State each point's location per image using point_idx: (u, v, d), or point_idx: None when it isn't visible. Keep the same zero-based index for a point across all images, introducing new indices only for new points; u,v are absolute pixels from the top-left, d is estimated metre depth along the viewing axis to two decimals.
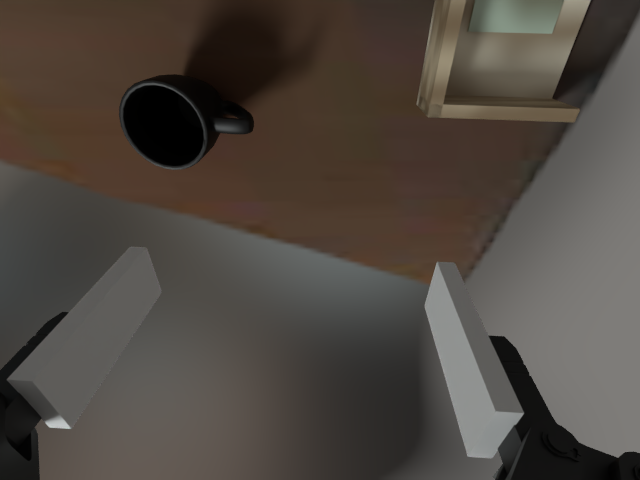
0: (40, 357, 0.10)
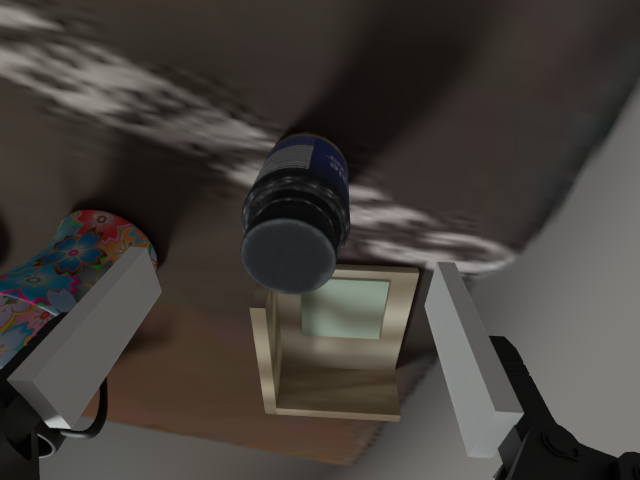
0: (40, 357, 0.10)
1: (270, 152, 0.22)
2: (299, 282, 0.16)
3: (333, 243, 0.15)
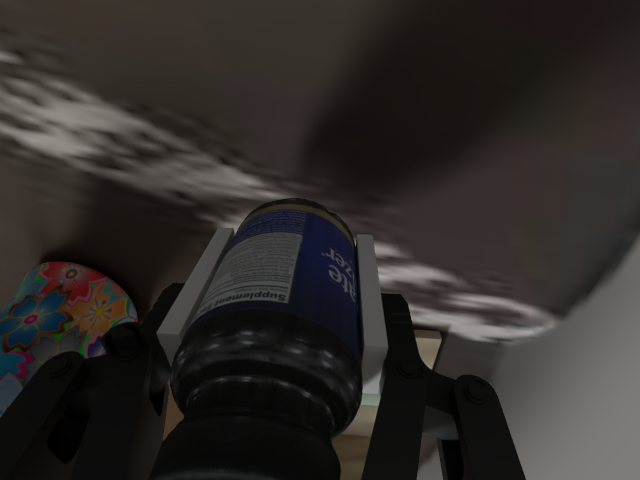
0: (177, 316, 0.11)
1: (238, 231, 0.15)
2: None
3: None
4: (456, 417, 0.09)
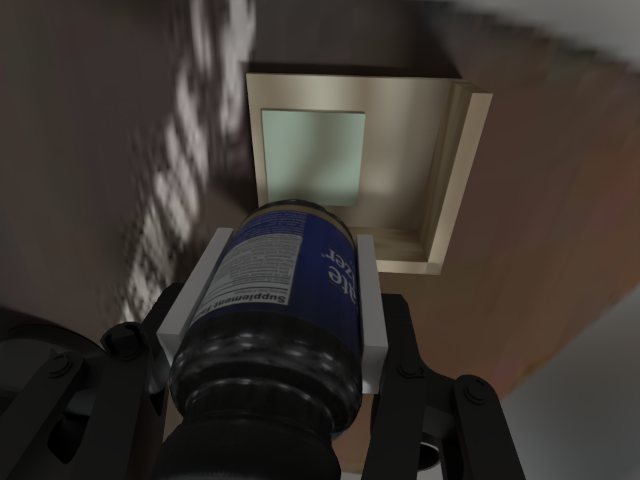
0: (177, 316, 0.11)
1: (237, 232, 0.15)
2: None
3: None
4: (456, 417, 0.09)
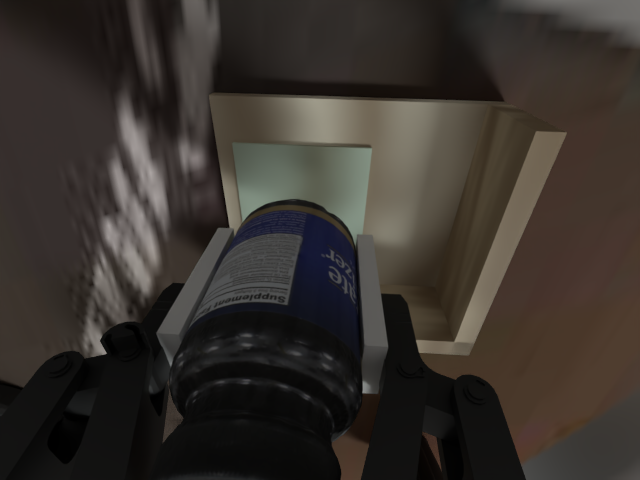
0: (177, 316, 0.11)
1: (237, 232, 0.15)
2: None
3: None
4: (456, 417, 0.09)
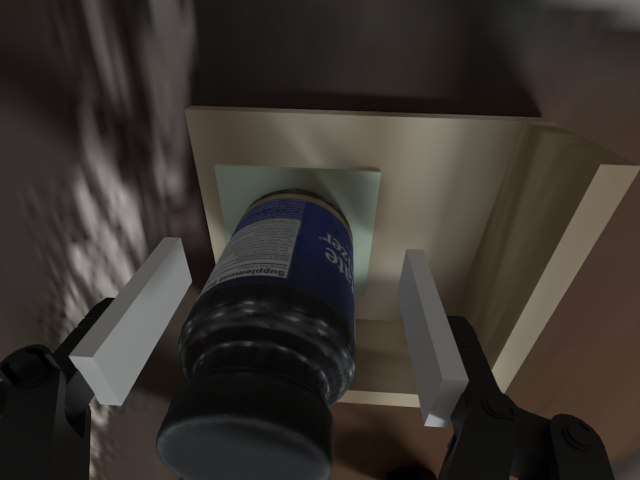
0: (96, 336, 0.10)
1: (241, 219, 0.15)
2: None
3: (325, 444, 0.08)
4: None
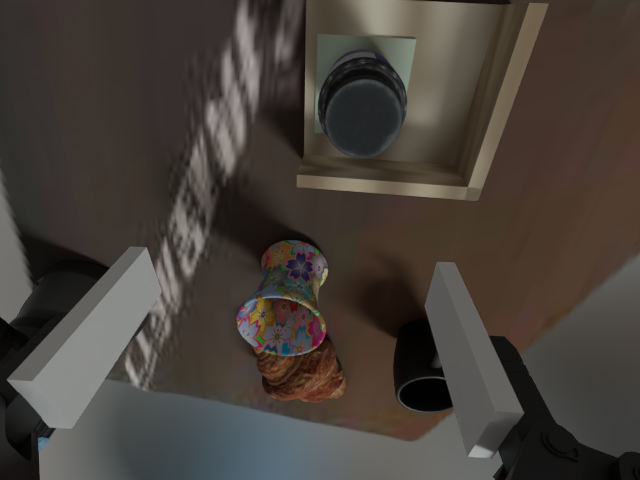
0: (40, 357, 0.10)
1: (333, 65, 0.26)
2: (368, 144, 0.20)
3: (400, 105, 0.19)
4: None
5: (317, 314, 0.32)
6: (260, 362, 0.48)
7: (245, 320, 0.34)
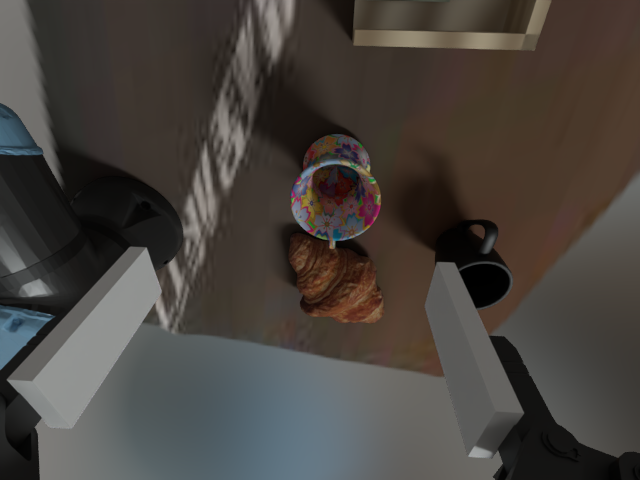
0: (40, 357, 0.10)
1: None
2: None
3: None
4: None
5: (374, 182, 0.32)
6: (301, 278, 0.47)
7: (298, 200, 0.34)
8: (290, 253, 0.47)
